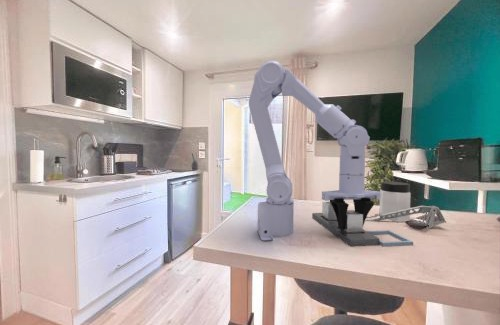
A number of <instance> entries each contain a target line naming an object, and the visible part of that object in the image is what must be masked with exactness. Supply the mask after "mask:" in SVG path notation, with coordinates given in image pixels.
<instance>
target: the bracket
mask: <svg viewBox="0 0 500 325" xmlns="http://www.w3.org/2000/svg"><path fill="white" fill-rule="evenodd" d="M417 209H418V210H417ZM404 211H406V213H405V214H404V213H402V212H404ZM409 212H410V213H409ZM398 213H401V215H398ZM392 214H395V215H394V216H393V215H392ZM417 214H424V217H423V219H422V222H426V223H424V225H425V224H428V225H429V226H427V227H426V229H431V228H434V227H436V226H438V225H441V224H444V223H447V221H446V219H445V217H444V215H443V213H442V211H441V210H440V208H439V207H437V206H435V205H429V206H427V205H418V206H414V207H410V208H409V209H405V210H400V211H396V212H391V213H387V214H382V215H379V213H375V214H374V215H368V216H367V217H366V219H369V222H379V221H384V220H389V219H391V218H396V217H401V216H407V215H410V216H411V215H417ZM389 215H390V217H388V216H389ZM383 216H385V218H384V217H383ZM435 216H436V217H437V218H435ZM377 217H378V218H377ZM372 218H373V219H372ZM374 218H375V219H374ZM425 219H426V220H425ZM422 222H421V223H422ZM427 222H428V223H427Z"/></svg>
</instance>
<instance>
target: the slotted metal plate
mask: <svg viewBox="0 0 500 325" xmlns="http://www.w3.org/2000/svg"><path fill="white" fill-rule="evenodd" d="M311 217H312V219H313V220H314V221H315V222H317V223H318V224H320V225H321V226H323V227H324V228H325V229H327V230H328V231H329V232H330V233H332V235H334V236H336V237H337V238H338V239H339V240H341V241H342V242H343V243H345V244H346V245H347V246H348V247H350V248H351V247H366V246H367V247H371V246H374V247H375V246H380V245H379V240H381V239H380V238H379V237H378V236H377V235H372V234H370V233H369V232H367V231H368V230H365V229H363V233H357V234H346V233H344V232H343V231H341V230H340V229H339V227H338V222H337V221H326V220H325V219H323V218H322V212H312V213H311Z"/></svg>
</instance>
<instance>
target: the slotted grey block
mask: <svg viewBox="0 0 500 325" xmlns="http://www.w3.org/2000/svg"><path fill="white" fill-rule="evenodd" d="M321 209H322V210H321V213H322V218H323V219H325V220H326V221H337V218H336V214H335V211H334V209H333V207H332V205H331V203H330V201H322V205H321Z"/></svg>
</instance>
